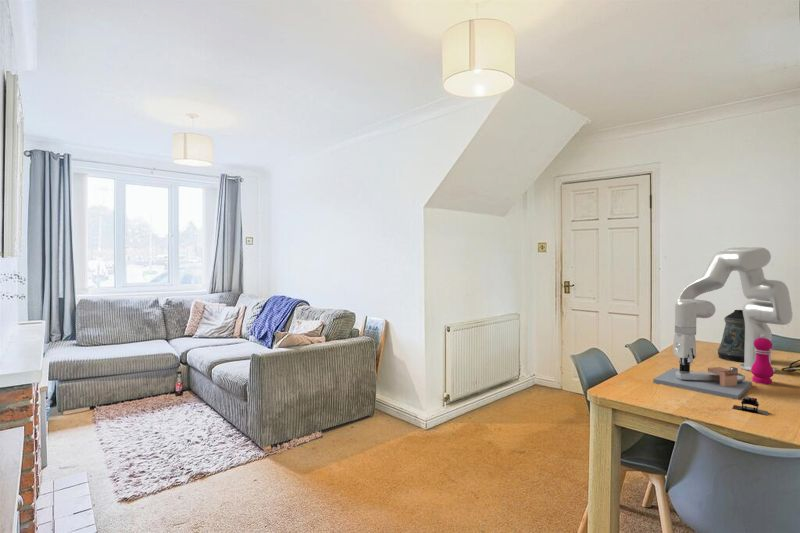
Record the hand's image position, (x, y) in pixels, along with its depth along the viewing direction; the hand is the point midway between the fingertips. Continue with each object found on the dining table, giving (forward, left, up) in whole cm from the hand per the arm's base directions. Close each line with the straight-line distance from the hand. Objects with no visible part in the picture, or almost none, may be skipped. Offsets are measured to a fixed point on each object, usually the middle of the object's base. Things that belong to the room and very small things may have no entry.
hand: (684, 373), depth 180 cm
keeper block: (-2, +13, -3) cm, 13 cm away
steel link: (-2, +8, -1) cm, 9 cm away
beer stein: (-66, +7, -3) cm, 66 cm away
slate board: (0, +6, -3) cm, 7 cm away
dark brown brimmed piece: (+23, +25, -4) cm, 34 cm away
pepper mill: (-22, +22, -3) cm, 31 cm away
